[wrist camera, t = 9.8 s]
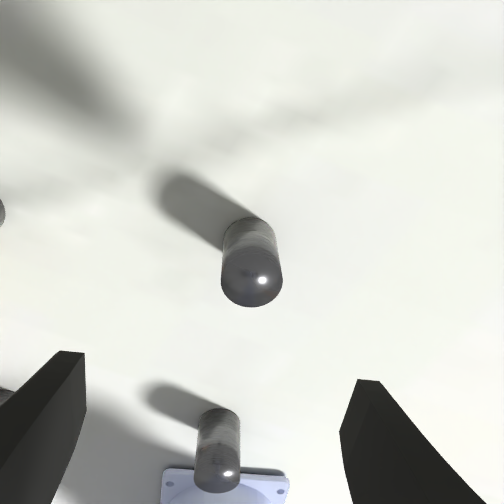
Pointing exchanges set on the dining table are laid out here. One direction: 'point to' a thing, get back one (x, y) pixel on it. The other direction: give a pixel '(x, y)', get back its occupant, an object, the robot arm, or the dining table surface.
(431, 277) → the dining table surface
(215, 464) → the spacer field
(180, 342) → the dining table surface
